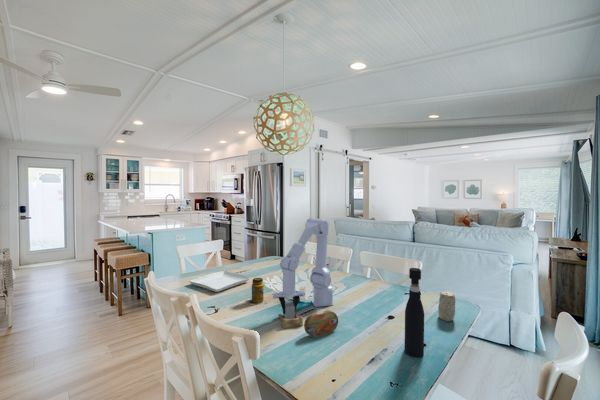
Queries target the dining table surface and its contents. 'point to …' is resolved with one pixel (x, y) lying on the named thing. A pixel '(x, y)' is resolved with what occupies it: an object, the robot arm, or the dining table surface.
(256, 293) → the condiment
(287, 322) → the wooden frame
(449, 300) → the beige upright cylinder
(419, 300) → the wine bottle
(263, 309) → the dining table surface
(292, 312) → the panel block
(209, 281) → the square plate
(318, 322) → the tin
